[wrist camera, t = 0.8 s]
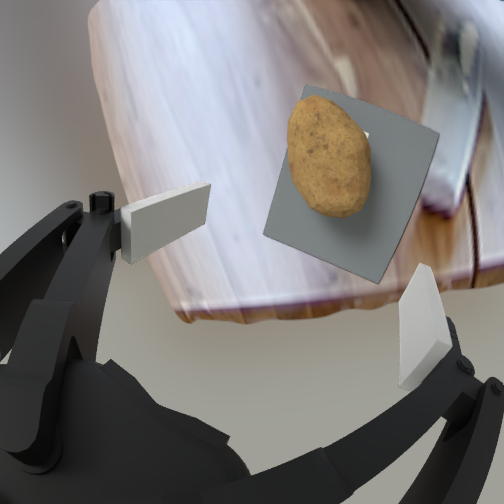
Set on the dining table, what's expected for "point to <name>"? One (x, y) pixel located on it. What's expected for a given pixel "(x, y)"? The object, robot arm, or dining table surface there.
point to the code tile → (377, 204)
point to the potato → (328, 157)
